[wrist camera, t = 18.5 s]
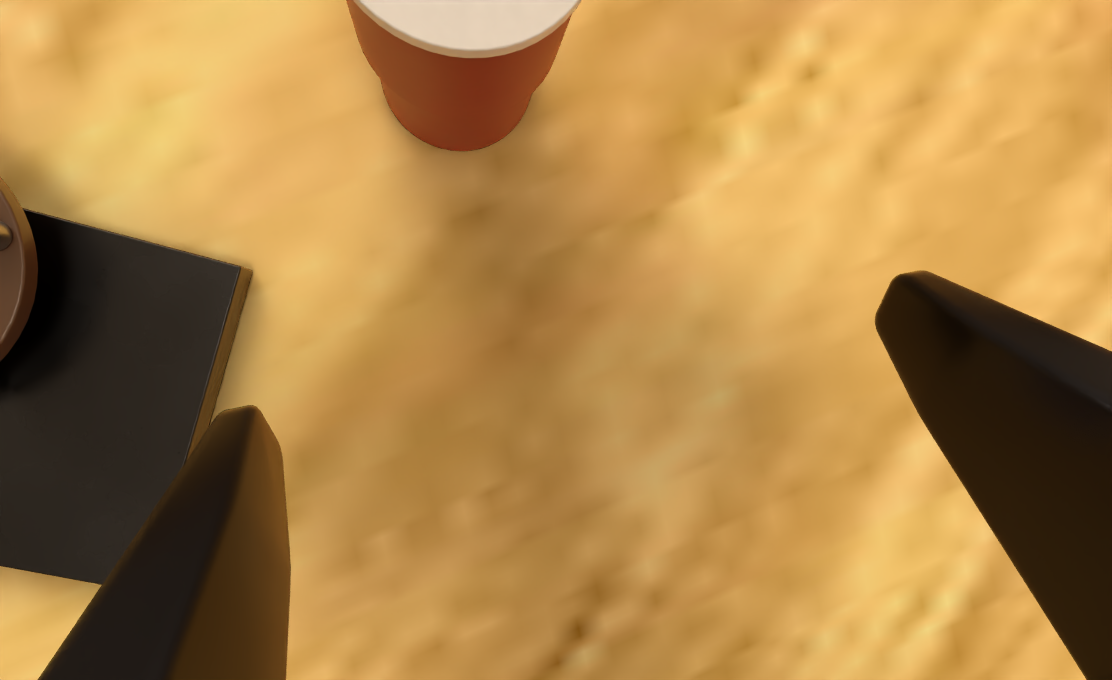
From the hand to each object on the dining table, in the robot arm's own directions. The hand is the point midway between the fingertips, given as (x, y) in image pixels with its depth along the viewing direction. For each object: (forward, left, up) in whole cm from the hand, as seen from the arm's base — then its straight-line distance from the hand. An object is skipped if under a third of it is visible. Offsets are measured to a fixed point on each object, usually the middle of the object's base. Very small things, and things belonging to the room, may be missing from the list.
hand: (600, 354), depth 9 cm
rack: (-5, +14, -13) cm, 20 cm away
